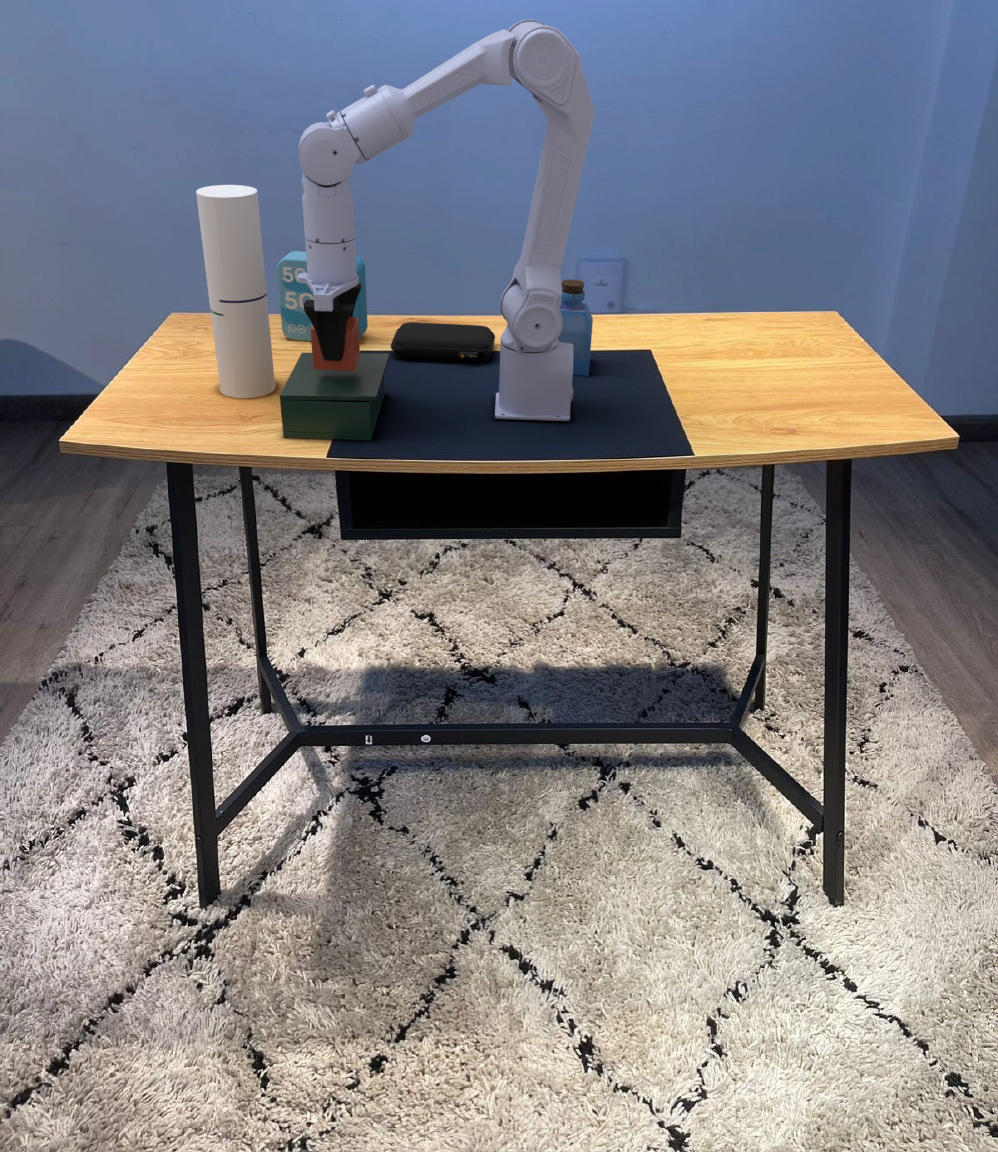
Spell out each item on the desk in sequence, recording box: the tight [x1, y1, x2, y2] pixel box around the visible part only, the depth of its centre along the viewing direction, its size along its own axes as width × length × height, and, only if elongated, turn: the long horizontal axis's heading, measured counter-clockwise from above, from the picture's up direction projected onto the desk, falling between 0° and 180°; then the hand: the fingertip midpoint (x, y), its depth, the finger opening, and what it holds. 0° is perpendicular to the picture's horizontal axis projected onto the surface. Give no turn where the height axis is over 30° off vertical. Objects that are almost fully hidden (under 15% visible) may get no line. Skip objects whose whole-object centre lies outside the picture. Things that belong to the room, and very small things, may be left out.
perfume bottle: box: [558, 278, 594, 377], centre depth 143 cm, size 6×6×12 cm
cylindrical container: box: [195, 184, 276, 399], centre depth 129 cm, size 7×7×25 cm
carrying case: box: [390, 322, 496, 362], centre depth 148 cm, size 11×3×15 cm
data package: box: [276, 250, 368, 342], centre depth 150 cm, size 12×4×12 cm, turn 82°
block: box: [310, 317, 361, 371], centre depth 124 cm, size 5×5×5 cm
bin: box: [279, 377, 386, 441], centre depth 127 cm, size 11×15×5 cm
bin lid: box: [279, 352, 391, 401], centre depth 126 cm, size 11×15×1 cm
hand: (336, 351), depth 124 cm, fingers closed on block, 5 cm apart
